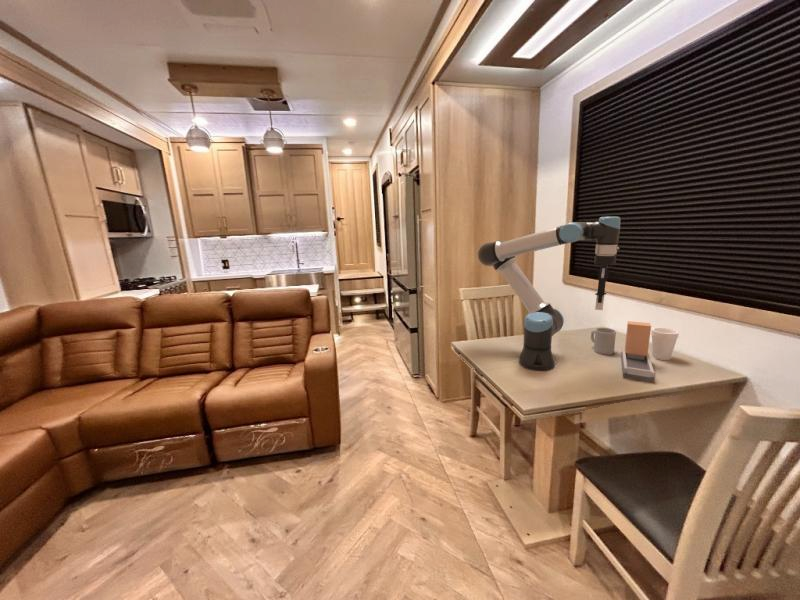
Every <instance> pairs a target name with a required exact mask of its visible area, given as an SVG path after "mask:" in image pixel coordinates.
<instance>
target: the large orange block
mask: <svg viewBox="0 0 800 600" xmlns="http://www.w3.org/2000/svg"><path fill="white" fill-rule="evenodd" d="M651 331H652V324H651V322H643V321H642V322H641V321H631V320H630V321H627V325H626V334H625V344H624V349H625V353H626V355H627V358H631V359H638V360H645V356H647V355H648V353H649V347H650V339H651Z"/></svg>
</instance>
